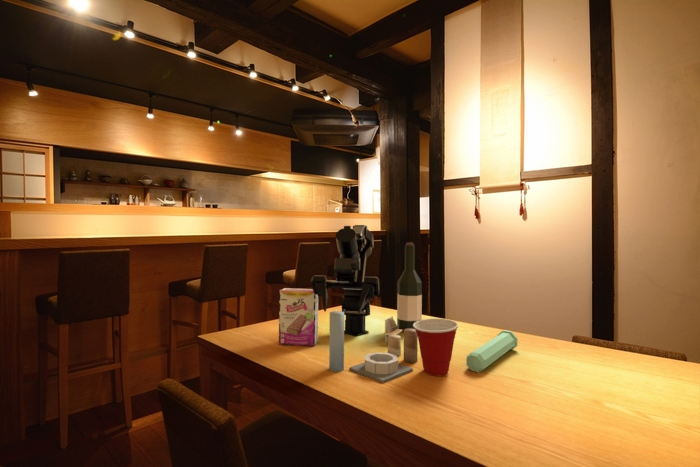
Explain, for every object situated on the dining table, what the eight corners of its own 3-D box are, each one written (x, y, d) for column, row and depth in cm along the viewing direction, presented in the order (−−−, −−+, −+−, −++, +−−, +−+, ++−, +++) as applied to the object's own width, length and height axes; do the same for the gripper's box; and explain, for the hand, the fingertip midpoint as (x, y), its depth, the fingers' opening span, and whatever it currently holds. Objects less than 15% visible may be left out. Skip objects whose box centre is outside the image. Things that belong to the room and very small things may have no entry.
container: (479, 349, 91) (513, 327, 110) (457, 354, 95) (494, 332, 114) (488, 374, 90) (521, 348, 109) (466, 378, 94) (502, 352, 113)
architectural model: (402, 341, 120) (402, 317, 120) (393, 347, 114) (393, 322, 114) (392, 339, 121) (392, 316, 121) (383, 345, 115) (383, 320, 115)
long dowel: (337, 365, 97) (337, 310, 96) (346, 369, 94) (347, 312, 94) (326, 369, 94) (326, 312, 94) (335, 373, 92) (336, 314, 91)
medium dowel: (409, 357, 103) (409, 327, 103) (420, 360, 101) (420, 330, 100) (400, 360, 101) (401, 330, 101) (411, 364, 98) (412, 332, 98)
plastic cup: (404, 366, 96) (404, 319, 96) (441, 361, 100) (441, 316, 100) (428, 383, 86) (428, 330, 86) (467, 377, 90) (468, 326, 89)
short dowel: (393, 351, 108) (393, 334, 108) (403, 354, 105) (403, 336, 105) (384, 354, 105) (385, 336, 105) (394, 357, 103) (395, 339, 103)
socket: (379, 359, 101) (379, 347, 101) (412, 370, 93) (413, 358, 93) (349, 369, 94) (349, 357, 94) (382, 383, 86) (383, 369, 86)
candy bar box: (278, 345, 113) (278, 290, 113) (282, 340, 118) (283, 287, 118) (315, 346, 112) (315, 291, 112) (318, 341, 117) (318, 288, 117)
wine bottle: (395, 332, 128) (395, 243, 128) (399, 326, 136) (399, 242, 136) (420, 334, 126) (420, 243, 125) (422, 328, 134) (423, 242, 133)
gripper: (312, 246, 107) (301, 292, 96) (379, 247, 104) (375, 294, 94) (318, 271, 115) (309, 316, 104) (380, 273, 112) (377, 319, 102)
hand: (341, 311), depth 101 cm, fingers open, 9 cm apart
